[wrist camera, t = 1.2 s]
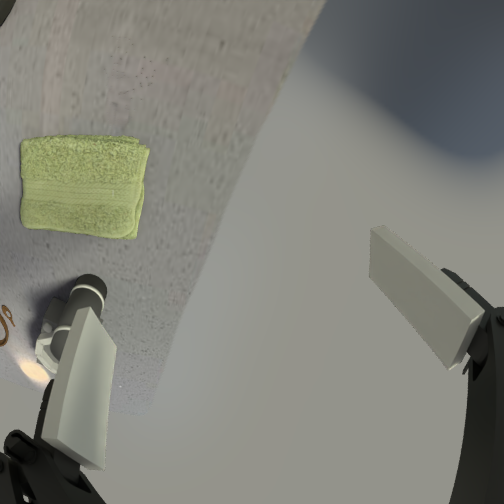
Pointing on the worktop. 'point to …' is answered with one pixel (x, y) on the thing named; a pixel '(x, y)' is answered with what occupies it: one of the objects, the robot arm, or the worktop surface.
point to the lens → (82, 295)
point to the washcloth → (83, 184)
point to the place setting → (4, 309)
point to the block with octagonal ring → (49, 335)
